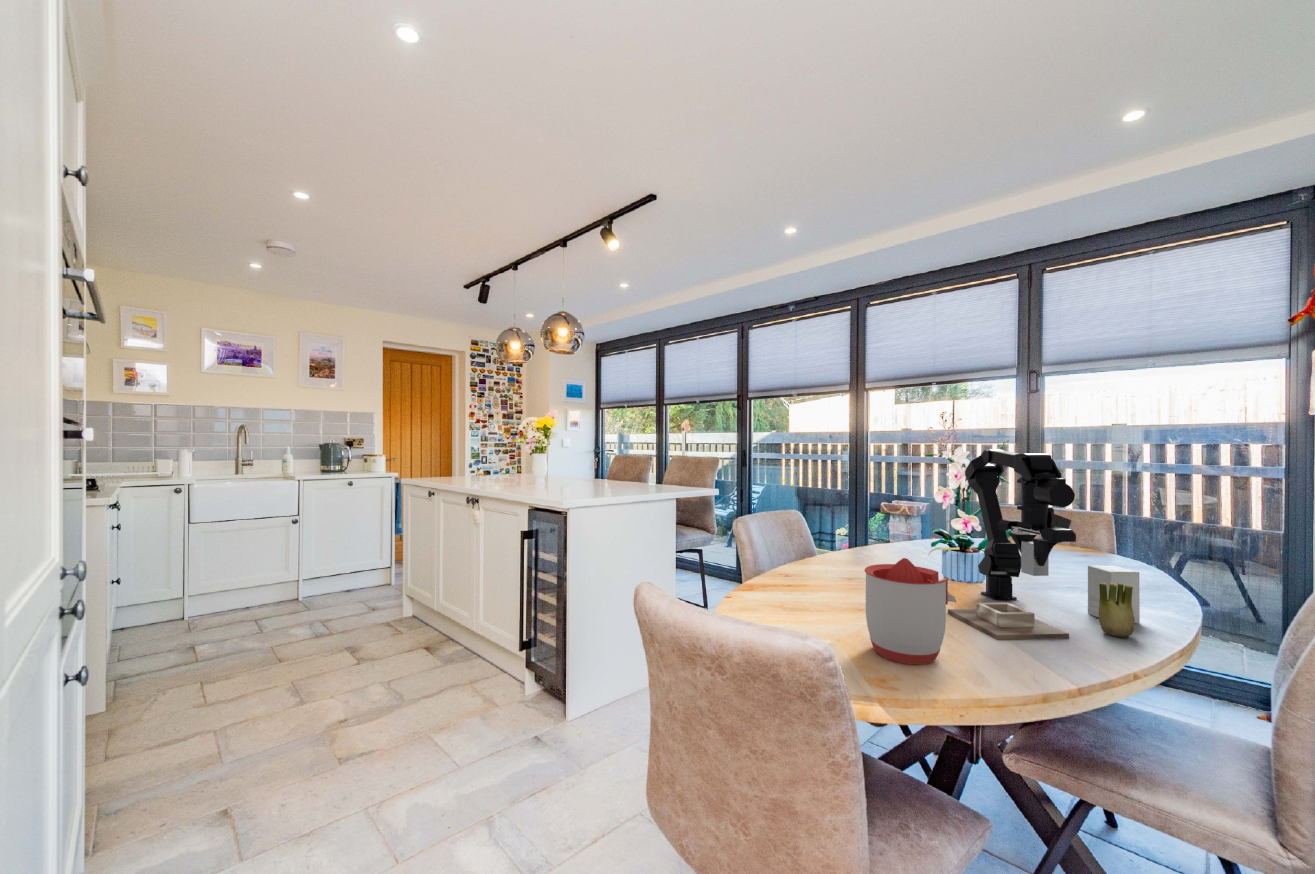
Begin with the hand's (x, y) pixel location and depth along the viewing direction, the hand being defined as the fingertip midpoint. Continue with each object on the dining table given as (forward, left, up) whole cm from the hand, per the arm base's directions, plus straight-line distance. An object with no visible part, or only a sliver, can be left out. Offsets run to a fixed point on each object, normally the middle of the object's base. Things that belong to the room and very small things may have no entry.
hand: (1034, 563), depth 136 cm
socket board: (+6, -13, -13) cm, 19 cm away
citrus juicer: (+22, -46, -13) cm, 53 cm away
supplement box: (+3, +18, -13) cm, 23 cm away
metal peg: (0, 0, -3) cm, 2 cm away
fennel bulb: (+14, +8, -13) cm, 21 cm away
